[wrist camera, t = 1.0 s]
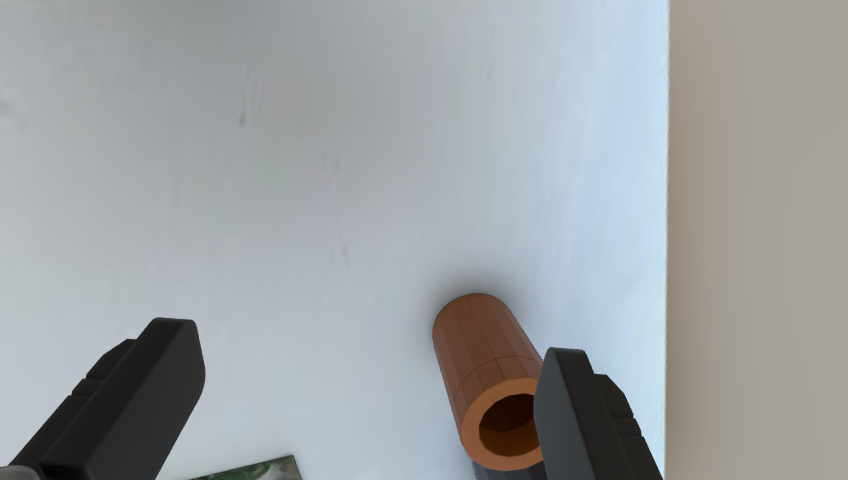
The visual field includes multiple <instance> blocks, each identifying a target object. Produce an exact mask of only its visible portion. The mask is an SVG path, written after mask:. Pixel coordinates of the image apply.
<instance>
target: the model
mask: <svg viewBox="0 0 848 480" xmlns="http://www.w3.org/2000/svg"><path fill="white" fill-rule="evenodd" d="M193 480H302V479H301V476H300V474H299V471H298V468H297V465H296V462H295V459H294V456H289V457H285V458H281V459H276V460H272V461H268V462H264V463H260V464H256V465H252V466H247V467H243V468H239V469H235V470H230V471H226V472H222V473H218V474H214V475H210V476H205V477H201V478H197V479H193Z"/></svg>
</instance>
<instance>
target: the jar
mask: <svg viewBox="0 0 848 480" xmlns="http://www.w3.org/2000/svg"><path fill="white" fill-rule="evenodd" d="M433 343H434V349H435V352H436V356H437V359H438V363H439V366H440V370H441V373H442V377H443V380H444V384H445V387H446V391H447V394H448V398H449V401H450V405H451V408H452V412H453V415H454V419H455V422H456V426H457V429H458V433H459V436H460V440H461V443H462V445H463V447H464V448H465V450H466V452H467V453H468V455H469V457H471V459H473V460H474V461H476V462H477V463H479V464H481V465H482V466H484V467H486V468H490V469H495V470H501V471H511V470H517V469H524V468H528V467H530V466H532V465H534V464H536V463H538V462H540V461H542V460H543V457H542V452H541V448H540V443H539V439H538V435H537V430H536V426H535V421H534V413H533V403H534V395H535V391H536V387H537V384H538V380H539V376H540V373H541V369H542V366H543V360H542V358H541V357H540V355H539V354H538V352H537V351H536V349H535V348H534V346H533V345H532V343H531V342H530V340H529V338H528V337H527V335H526V334H525V332H524V331H523V329H522V328H521V326H520V325H519V323H518V322H517V320H516V318H515V317H514V315H513V314H512V312H511V311H510V310H509V309H508V308H507V306H506V305H505V304H504V303H503V302H501V301H500V300H499V299H497V298H495V297H492V296H489V295H485V294H470V295H466V296H462V297H460V298H457V299H456V300H454V301H452V302H451V303H449V304H448V305H447V306H446V307H445V308H444V309H443V310H442V311H441V312H440V314H439V315H438V317H437V319H436V321H435V323H434V327H433Z"/></svg>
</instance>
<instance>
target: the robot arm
mask: <svg viewBox="0 0 848 480" xmlns="http://www.w3.org/2000/svg"><path fill="white" fill-rule="evenodd" d="M204 383H205V365H204V360H203V355H202V350H201V345H200V340H199V335H198V331H197V326H196V324H195V322H194V321H193V320H188V319H175V318H161V317H157V318H155V319H153V320H152V321H151V322H150V323H149V324H148V326H147V327H146V328H145V329H144V331H143V332H142V333H141V334H140V336H139V337H138V338H137V339H126V340H125V341H123V342H122V343H120V344H119V345H117V346H116V347H114V348H113V349H111V350H110V351H108V352H107V353H105V354H104V355H103V356H102V357H101V358H100V359H99V360H98V361H97V363H96V364H95V365H94V366H93V367H92V368H91V370H90V371H89V372H88V373H87V374H86V378H85V379H82V380H81V381H80V382H79V384H78V385H77V386H76V387H75V388H74V389H73V391H72V394H71V396H69V395H68V396H67V398H66V399H65V400H64V401H63V402H62V403H61V405H60V406H59V407H58V408H57V409H56V410H55V412H54V413H53V414H52V415H51V416H50V417H49V419H48V420H47V421H46V422H45V423H44V424H43V426H42V427H41V428H40V429H39V430H38V431H37V433H36V434H35V435H34V436H33V437H32V438H31V440H30V441H29V442H28V443H27V444H26V445H25V447H24V448H23V449H22V450H21V451H20V452H19V454H18V455H17V456H16V457H15V458H14V459H13V460H12V461H11V463H10V464H9V465H8V466H3V467H0V480H155V479H156V477H157V475H158V473H159V471H160V470H161V468H162V466H163V464H164V462H165V460H166V459H167V457H168V455H169V453H170V451H171V449H172V448H173V446H174V444H175V442H176V440H177V438H178V437H179V435H180V433H181V431H182V429H183V427H184V426H185V424H186V422H187V420H188V418H189V416H190V415H191V413H192V411H193V409H194V407H195V405H196V404H197V402H198V400H199V398H200V396H201V393H202V391H203V387H204ZM533 413H534V421H535V426H536V430H537V435H538V439H539V443H540V448H541V452H542V457H543V461H544V465H545V470H546V474H547V479H548V480H663V478H662V476H661V474H660V472H659V469H658V467H657V465H656V463H655V461H654V458H653V456H652V454H651V452H650V450H649V447H648V445H647V443H646V441H645V439H644V437H642V435H641V430H640V428H639V425H638V423H637V421H636V419H634V418H633V415H634V414H633V412H632V410H631V408H630V406H629V403H628V401H627V399H626V397H625V395H624V393H623V392H622V391H621V390H620V389H619V388H618V386H617V385H616V384H615V383H614V382H613V381H612V380H611V379H610V378H609V377H608V376H607V375H602V374H594V372H593V369H592V367H591V364H590V362H589V359H588V357H587V355H586V353H585V351H583V350H580V349H566V348H553V347H550V348H549V349H548V350H547V352H546V355H545V359H544V362H543V366H542V369H541V373H540V376H539V380H538V384H537V387H536V391H535V395H534V403H533Z"/></svg>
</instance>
